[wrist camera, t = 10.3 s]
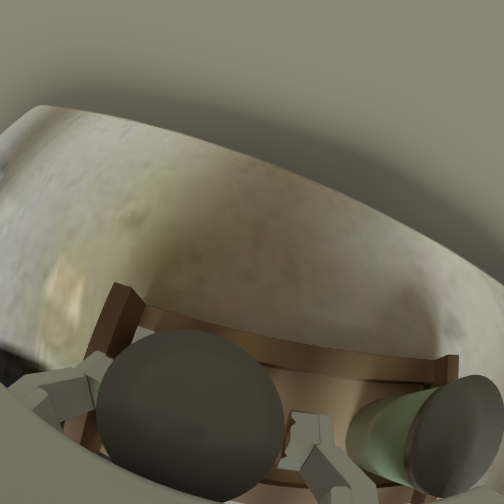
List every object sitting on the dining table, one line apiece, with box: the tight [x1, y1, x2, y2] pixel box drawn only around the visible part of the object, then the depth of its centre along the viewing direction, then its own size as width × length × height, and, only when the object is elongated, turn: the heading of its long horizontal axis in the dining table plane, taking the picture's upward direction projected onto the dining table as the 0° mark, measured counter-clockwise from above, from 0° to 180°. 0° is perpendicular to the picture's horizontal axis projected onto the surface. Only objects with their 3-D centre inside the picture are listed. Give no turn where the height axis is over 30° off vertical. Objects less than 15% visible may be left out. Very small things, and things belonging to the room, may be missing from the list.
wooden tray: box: [63, 282, 459, 504], centre depth 12 cm, size 21×10×4 cm, turn 77°
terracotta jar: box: [96, 329, 284, 503], centre depth 10 cm, size 5×5×9 cm
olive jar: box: [345, 375, 504, 498], centre depth 9 cm, size 5×5×8 cm
